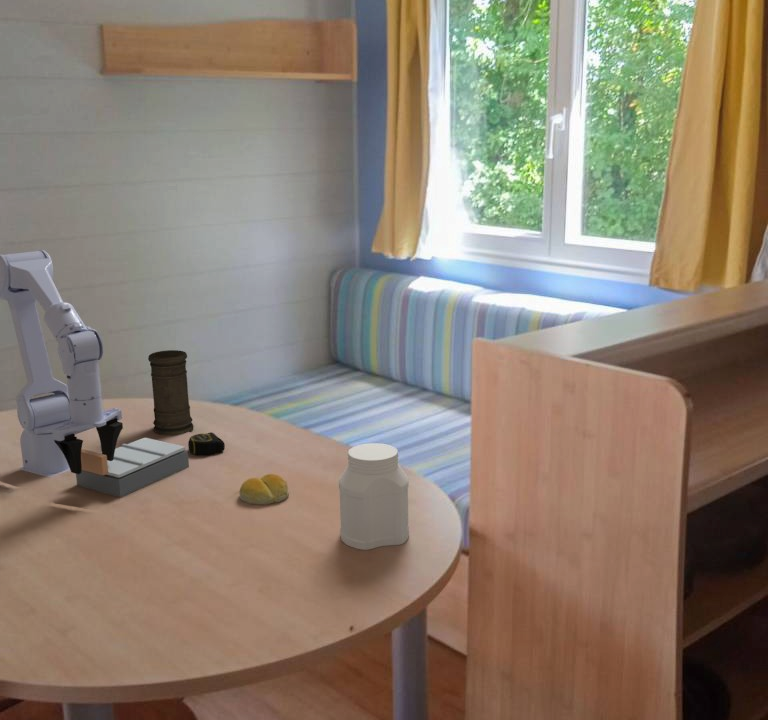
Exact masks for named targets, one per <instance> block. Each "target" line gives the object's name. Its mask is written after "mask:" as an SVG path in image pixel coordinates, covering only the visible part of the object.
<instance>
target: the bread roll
mask: <svg viewBox="0 0 768 720" xmlns="http://www.w3.org/2000/svg"><path fill="white" fill-rule="evenodd" d="M289 495H290V491H289V488H288V484H287V481H286V480H285V479H284V478H283V477H282V476H280V475H277V474H272V473H269V474H266V475H264V476H261V478H259V477H258V478H257V477H251V478H248V479H246V480H245V481H244V482H243V483H242V484H241V486H240V488H239V498H240V499H241V500H242V501H243V502H244V503H246V504H251V505H258V506H259V505H260V506H262V505H268V504H272V503H279V502H282V501H284V500H286V499H287V498H288V497H289Z"/></svg>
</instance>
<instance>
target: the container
mask: <svg viewBox="0 0 768 720" xmlns="http://www.w3.org/2000/svg"><path fill="white" fill-rule="evenodd" d="M187 354H188V353H187V352H186V351H183V350H177V349H176V350H175V349H174V350H173V349H172V350H171V349H169V350H161V351H155V352H152V353H151V354H149V355H148V358H147V361H149V362H150V363H149V365H150V369H151V370H150V371H151V372H150V376H151V383H152V385H151V386H152V396H153V397H152V398H153V415H154V421H153V422H152V424H153V425H154V427H153V432H154V433H155V434H157V435H160V436H179V435H184V434H188V433H192V432H193V430H194V427H195V426H194V424H193V422H192V421H193V418H192V416H191V406H190V399H189V392H188V390H189V389H188V388H189V386H188V376H187V373H188V370H187V369H186V368H187V367H186V366H187V365H186V364H187V360H186V359H188V355H187Z"/></svg>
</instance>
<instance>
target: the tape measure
mask: <svg viewBox="0 0 768 720" xmlns="http://www.w3.org/2000/svg"><path fill="white" fill-rule="evenodd" d="M187 445H188V450H189V452H190V453H191V455H194V456H199V457H200V456H201V457H203V456H211V455H215V454H218V453H221V452H224V451H225V448H226V447H225V442H224V441H223V439H222V438H221V437H219V436H217V435H216V434H215V433H214V432H208V433H196V434H193V435H192V436H191V437H189V439H188V444H187Z"/></svg>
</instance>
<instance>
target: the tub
mask: <svg viewBox="0 0 768 720" xmlns="http://www.w3.org/2000/svg"><path fill="white" fill-rule="evenodd" d="M189 463H190V462H189V451H188V450H183V451H181V452H179V453H176V454H174V455H172V456H170V457H168V458H166V459H163V460H161V461H159V462H156V463H154V464H152V465H149V466H147V467H145V468H141V469H139V470H136V471H134V472H132V473H129V474H127V475H125V476H122V477H120V478H118V477H114V476H110V475H107V474H106V475H104V476H103V475H99V474H96V473H92V472H88V471H84V470H82V471H81V473H80V474H75V477H76V479H75V480H76V485H77V486H79V487H83V488H86V489H90V490H92V491H93V490H94V491H96V492H100V493H102V494H107V495H110V496H114V497H118V498H123V497H125V496H128V495H130V494H132V493H134V492H136V491H138V490H140V489H143V488H145V487H148V486H150V485H153V484H155V483H156V482H159V481H161V480H163V479H166V478H167V477H170V476H173V475H175V474H176V473H179V472H181V471H183V470H185V469H188V468H189V467H190V464H189Z"/></svg>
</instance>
